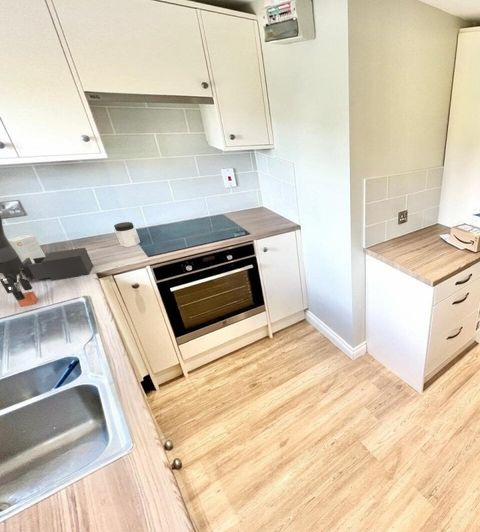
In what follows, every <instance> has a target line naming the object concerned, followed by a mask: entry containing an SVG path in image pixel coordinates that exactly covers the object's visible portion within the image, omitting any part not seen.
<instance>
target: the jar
mask: <svg viewBox="0 0 480 532" xmlns="http://www.w3.org/2000/svg"><path fill="white" fill-rule="evenodd" d="M113 228H114V232H115V235H116V238H117V240H118V242H119V245H120V246H121V247H124V248H131V247H135V246H136V247H137V246H138V245H139V244H140V243H141V240H140V237H139V234H138V231H137V229H136V227H135V225H134V224H133V222H132V221H131V222H130V221H124V222H119V223H116V224H114V226H113Z"/></svg>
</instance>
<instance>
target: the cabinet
mask: <svg viewBox="0 0 480 532" xmlns="http://www.w3.org/2000/svg"><path fill="white" fill-rule="evenodd" d="M45 256H46V257H45V258H44V259H43V261H42V263H43V265H44V267H45V269H46V271H47V273H48V274H49V276H50V280H51V281H52V282H53V281H59V280H66V279H71V278H77V277H83V276H88V275H90V273H91V271H92V270H93V268H94V264H93V262H92V259H91V257H90V255H89V253H88V251H87V248H86V247H80V248H73V249H72V248H70V249H65V250H57V251H51V252H48V253H47V255H45ZM82 275H83V276H82Z"/></svg>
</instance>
